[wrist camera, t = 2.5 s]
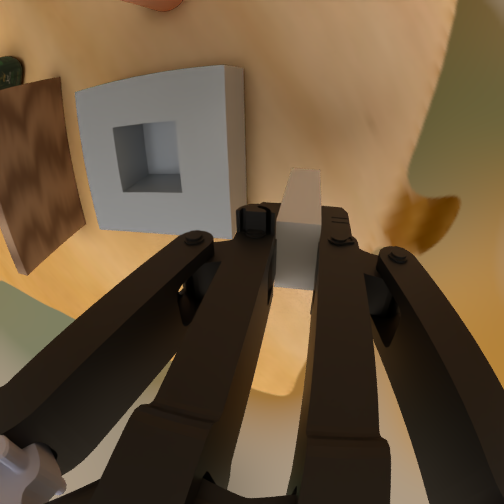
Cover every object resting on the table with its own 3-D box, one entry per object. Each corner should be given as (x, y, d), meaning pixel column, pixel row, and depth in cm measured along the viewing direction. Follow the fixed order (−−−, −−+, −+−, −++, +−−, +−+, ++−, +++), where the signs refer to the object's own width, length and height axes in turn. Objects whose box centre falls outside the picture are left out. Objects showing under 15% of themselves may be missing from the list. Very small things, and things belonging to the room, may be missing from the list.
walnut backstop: (50, 81, 25) (-28, 101, 15) (60, 77, 25) (-20, 96, 15) (76, 223, 36) (18, 273, 26) (85, 223, 36) (27, 275, 26)
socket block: (112, 85, 25) (74, 92, 20) (243, 67, 23) (224, 64, 18) (129, 204, 33) (99, 229, 28) (247, 209, 30) (232, 239, 25)
